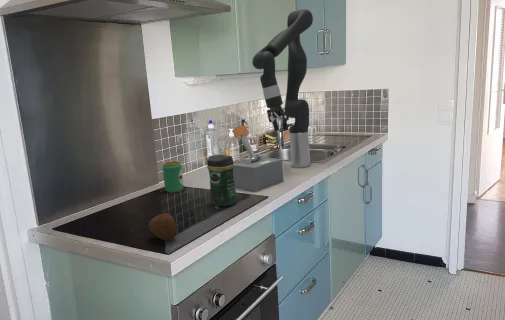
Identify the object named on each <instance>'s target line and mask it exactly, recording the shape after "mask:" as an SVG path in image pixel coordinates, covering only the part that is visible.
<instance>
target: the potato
mask: <svg viewBox="0 0 505 320" xmlns="http://www.w3.org/2000/svg"><path fill="white" fill-rule="evenodd" d="M148 227H149V230H150V231H151V233H153V235H154V236H156V238H159V239H161V240H162V241H166V242H170V241H172V240H174V239H175V237H176V236H177V234H178V233H177V232H178V231H177V223H176V221H175V219H174V218H173V217H172V215H171V214H170V213H167V212H165V213H161V214H158V215H156V216H154V217H153V218H152V219H150V221H149V222H148Z"/></svg>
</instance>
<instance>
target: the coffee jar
mask: <svg viewBox="0 0 505 320" xmlns="http://www.w3.org/2000/svg"><path fill="white" fill-rule="evenodd" d="M206 161H207V163H206V164H207V166H206V167H207V170H208V172H209V173H208V175H209V185H210V188H209V189H210V190H209V191H210V195H209V196H210V203H211V204H212V205H213V206H218V207H229V206H234V205H235V204H236V203H237V201H238V198H237V197H238V196H237V191H236V190H237V189H236V188H235V184H234V177H233V168H234V162H235V161H234V157H233V156H232V155H227V154H226V155H224V154H214V155H209V156H208V158H207V160H206Z"/></svg>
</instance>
